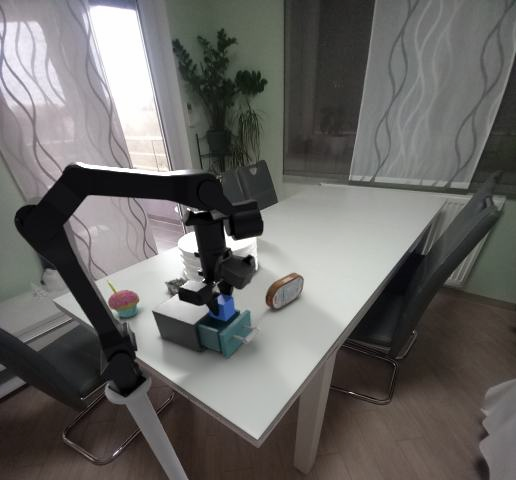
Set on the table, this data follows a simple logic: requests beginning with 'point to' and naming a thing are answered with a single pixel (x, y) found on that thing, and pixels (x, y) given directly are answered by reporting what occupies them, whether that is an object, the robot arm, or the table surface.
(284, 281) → the tin
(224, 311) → the blue toy brick
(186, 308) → the cabinet
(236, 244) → the plate stack
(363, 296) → the table surface
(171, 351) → the table surface
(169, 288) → the egg carton
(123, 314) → the cupcake
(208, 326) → the drawer
